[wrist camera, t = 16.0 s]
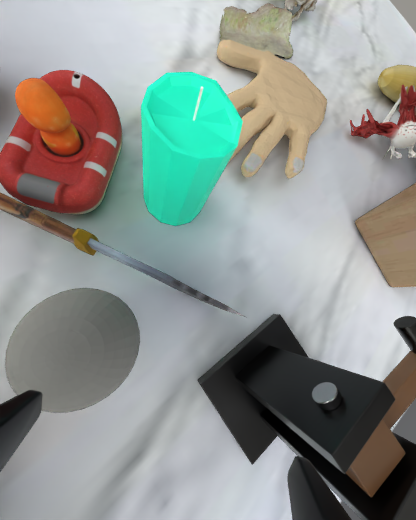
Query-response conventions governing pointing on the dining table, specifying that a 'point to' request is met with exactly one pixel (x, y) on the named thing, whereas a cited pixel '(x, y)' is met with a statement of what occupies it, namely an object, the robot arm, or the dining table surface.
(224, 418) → the bracket
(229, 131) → the candle
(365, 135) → the figurine
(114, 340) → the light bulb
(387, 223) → the wooden block
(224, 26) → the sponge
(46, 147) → the toy boat
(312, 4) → the decorative insect model
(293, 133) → the hand model
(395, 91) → the bullet
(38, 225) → the knife
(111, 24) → the dining table surface
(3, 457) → the robot arm
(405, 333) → the lever
